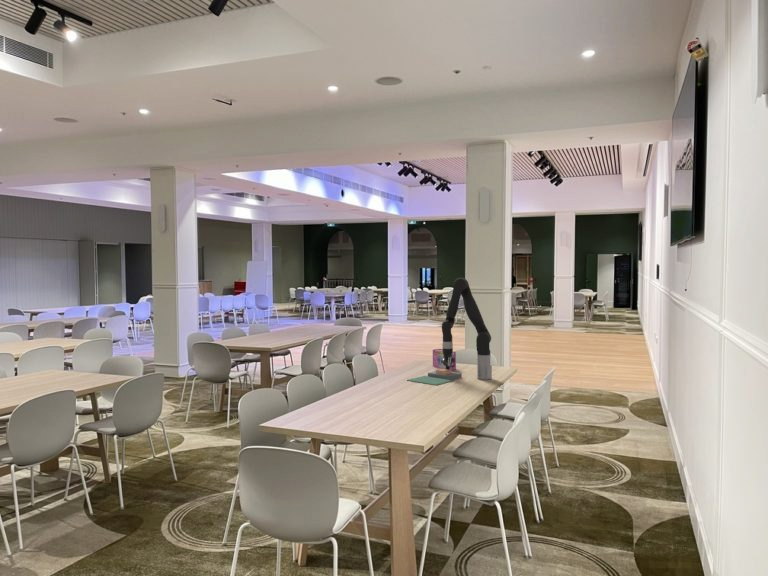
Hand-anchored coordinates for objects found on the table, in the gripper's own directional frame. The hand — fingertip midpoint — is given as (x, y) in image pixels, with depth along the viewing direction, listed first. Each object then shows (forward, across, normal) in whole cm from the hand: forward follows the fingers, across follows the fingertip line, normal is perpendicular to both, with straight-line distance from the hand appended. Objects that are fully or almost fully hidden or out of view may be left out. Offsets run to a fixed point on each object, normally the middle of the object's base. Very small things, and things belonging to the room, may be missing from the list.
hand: (447, 371), depth 416 cm
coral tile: (+1, -5, 0) cm, 5 cm away
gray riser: (+4, -4, 0) cm, 6 cm away
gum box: (+4, +28, +24) cm, 37 cm away
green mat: (+4, -22, 0) cm, 22 cm away
